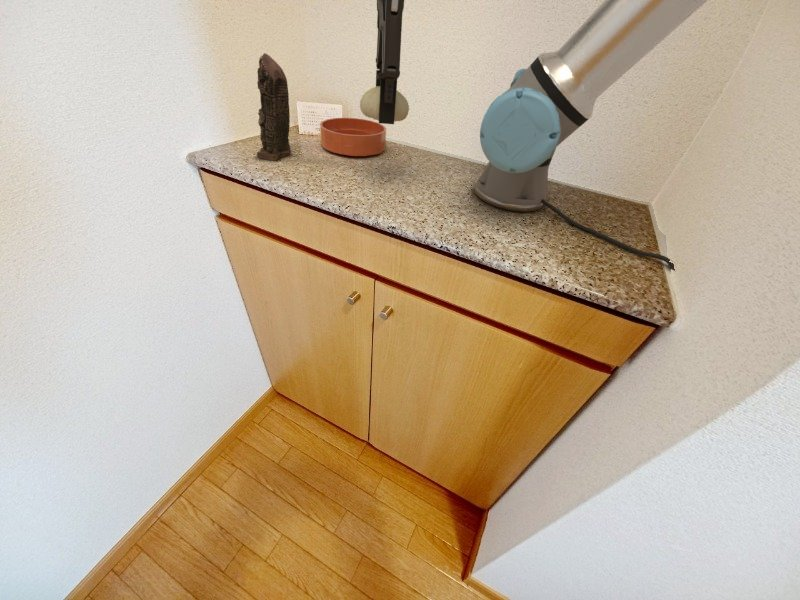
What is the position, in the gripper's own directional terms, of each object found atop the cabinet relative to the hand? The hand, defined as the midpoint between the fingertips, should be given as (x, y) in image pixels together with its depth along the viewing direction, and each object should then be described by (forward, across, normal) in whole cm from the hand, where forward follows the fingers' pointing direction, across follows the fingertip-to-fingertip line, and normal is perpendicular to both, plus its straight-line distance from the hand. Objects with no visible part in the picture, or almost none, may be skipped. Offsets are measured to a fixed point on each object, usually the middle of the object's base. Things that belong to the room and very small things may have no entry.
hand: (383, 116), depth 61 cm
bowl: (+14, -25, -5) cm, 29 cm away
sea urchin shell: (0, 0, 0) cm, 0 cm away
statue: (+14, -16, -24) cm, 32 cm away
